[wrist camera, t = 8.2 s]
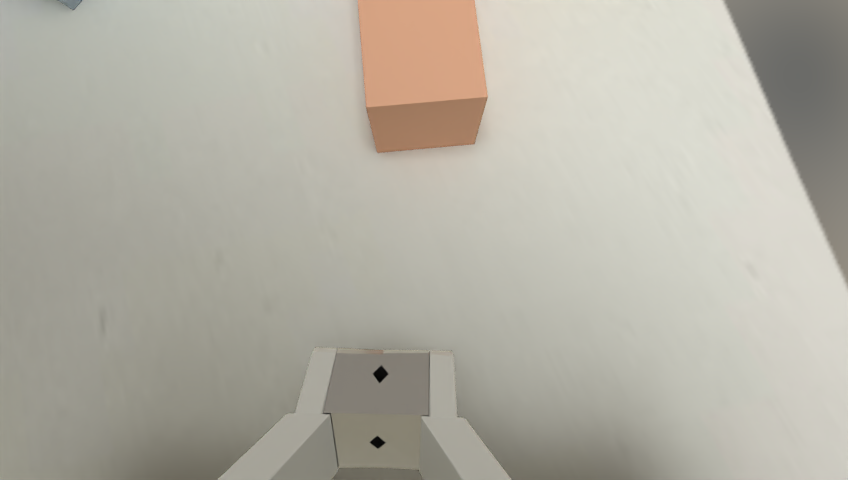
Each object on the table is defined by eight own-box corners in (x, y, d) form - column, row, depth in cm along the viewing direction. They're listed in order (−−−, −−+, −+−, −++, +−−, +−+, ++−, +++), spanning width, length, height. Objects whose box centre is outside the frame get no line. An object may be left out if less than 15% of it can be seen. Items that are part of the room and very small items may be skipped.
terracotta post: (366, 107, 15) (346, -140, 17) (377, 154, 18) (361, -50, 20) (487, 96, 15) (454, -148, 17) (473, 146, 19) (447, -57, 21)
